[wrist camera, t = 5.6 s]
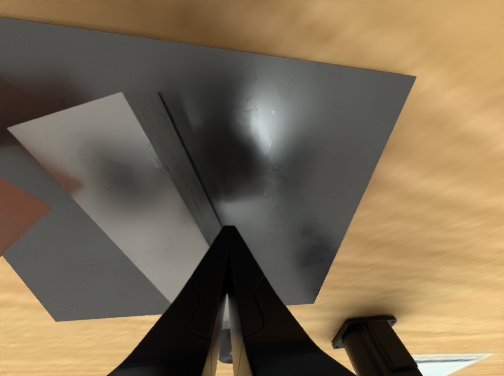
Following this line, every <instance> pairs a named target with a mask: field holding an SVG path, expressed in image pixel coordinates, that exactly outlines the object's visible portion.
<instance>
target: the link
mask: <svg viewBox="0 0 504 376" xmlns="http://www.w3.org/2000/svg"><path fill="white" fill-rule="evenodd" d="M7 129H8V130H9V131H10V132H11V133H12V134H13V135H14V136H15V137H16V138H17V139H18V141H19V142H20V143H21V144H22V145H23V146H24V147H25V148H26V149H27V150H28V151H29V152H30V153H31V154H32V155H33V157H34V158H35V159H36V160H37V161H38V162H39V163H40V164H41V165H42V166H43V167H44V168H45V169H46V170H47V171H48V173H49V174H50V175H51V176H52V177H53V178H54V179H55V180H56V181H57V182H58V183H59V184H60V185H61V186H62V187H63V189H64V190H65V191H66V192H67V193H68V194H69V195H70V196H71V197H72V198H73V199H74V200H75V201H76V202H77V203H78V204H79V206H80V207H81V208H82V209H83V210H84V211H85V212H86V213H87V214H88V215H89V216H90V217H91V218H92V219H93V220H94V222H95V223H96V224H97V225H98V226H99V227H100V228H101V229H102V230H103V231H104V232H105V233H106V234H107V235H108V236H109V238H110V239H111V240H112V241H113V242H114V243H115V244H116V245H117V246H118V247H119V248H120V249H121V250H122V251H123V252H124V254H125V255H126V256H127V257H128V258H129V259H130V260H131V261H132V262H133V263H134V264H135V265H136V266H137V267H138V268H139V269H140V271H141V272H142V273H143V274H144V275H145V276H146V277H147V278H148V279H149V280H150V281H151V282H152V283H153V284H154V285H155V287H156V288H157V289H158V290H159V291H160V292H161V293H162V294H163V295H164V296H165V297H166V298H167V299H168V300H169V301H170V303H172V302H173V301H174V300H175V298H176V297H177V295H178V294H179V293H180V291H181V290H182V288H183V287H184V285H185V284H186V282H187V281H188V279H189V278H190V276H191V275H192V273H193V272H194V270H195V269H196V267H197V266H198V264H199V263H200V261H201V259H202V258H203V256H204V255H205V253H206V252H207V250H208V249H209V247H210V246H211V244H212V243H213V241H214V240H215V238H216V236H217V235H218V233H219V232H220V230H221V229H222V228H221V226H220V224H219V221H218V219H217V217H216V215H215V213H214V211H213V209H212V207H211V205H210V202H209V200H208V198H207V196H206V194H205V192H204V190H203V188H202V186H201V183H200V181H199V179H198V177H197V175H196V173H195V171H194V169H193V167H192V164H191V162H190V160H189V158H188V156H187V154H186V152H185V150H184V148H183V146H182V143H181V141H180V139H179V137H178V135H177V133H176V131H175V129H174V127H173V124H172V122H171V120H170V118H169V116H168V114H167V112H166V110H165V108H164V105H163V103H162V101H161V99H160V97H159V95H158V93H157V92H119V93H116V94H113V95H110V96H107V97H104V98H100V99H97V100H94V101H91V102H88V103H85V104H81V105H78V106H75V107H72V108H69V109H66V110H62V111H59V112H56V113H53V114H50V115H47V116H43V117H40V118H37V119H34V120H31V121H28V122H24V123H21V124H18V125H15V126H12V127H9V128H7ZM228 328H230V321H229V309H228V297H227V298H226V304H225V311H224V318H223V325H222V330H224V329H228ZM218 359H219V353H218ZM218 359H217V360H218Z"/></svg>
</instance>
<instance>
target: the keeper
mask: <svg viewBox="0 0 504 376" xmlns="http://www.w3.org/2000/svg"><path fill="white" fill-rule="evenodd" d="M51 208H52V207H51V206H49V205H48V204H46V203H44V202H42V201H41V200H39V199H37V198H35V197H34V196H32V195H30V194H28V193H27V192H25V191H23V190H21V189H20V188H18V187H16V186H14V185H13V184H11V183H9V182H7V181H6V180H4V179H2V178H0V257H1V256H2V255H3V254H4V253H5V252H6V251H7V250H8V249H9V248H10V247H11V246H12V245H13V244H14V243H15V242H16V241H18V240H19V239H20V238H21V237H22V236H23V235H24V234H25V233H26V232H27V231H28V230H29V229H30V228H31V227H32V226H33V225H34V224H35V223H36V222H37V221H38V220H40V219H41V218H42V217H43V216H44V215H45V214H46V213H47V212H48V211H49V210H50V209H51Z"/></svg>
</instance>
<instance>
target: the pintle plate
mask: <svg viewBox="0 0 504 376" xmlns="http://www.w3.org/2000/svg"><path fill="white" fill-rule="evenodd" d="M415 79H416V76H409V75H402V74H395V73H388V72H381V71H374V70H368V69H361V68H354V67H347V66H340V65H333V64H326V63H319V62H312V61H305V60H298V59H291V58H284V57H277V56H270V55H263V54H256V53H249V52H242V51H235V50H228V49H221V48H214V47H207V46H200V45H193V44H186V43H179V42H172V41H165V40H158V39H151V38H144V37H137V36H130V35H123V34H116V33H109V32H102V31H95V30H88V29H82V28H75V27H68V26H61V25H54V24H47V23H40V22H33V21H26V20H19V19H12V18H5V17H0V178H2V179H4V180H6V181H7V182H9V183H11V184H13V185H14V186H16V187H18V188H20V189H21V190H23V191H25V192H27V193H28V194H30V195H32V196H34V197H35V198H37V199H39V200H41V201H42V202H44V203H46V204H48V205H49V206H51V207H52V208H51V209H50V210H49V211H48V212H47V213H46V214H45V215H44V216H43V217H42V218H41V219H40V220H38V221H37V222H36V223H35V224H34V225H33V226H32V227H31V228H30V229H29V230H28V231H27V232H26V233H25V234H24V235H23V236H22V237H21V238H20V239H19V240H18V241H16V242H15V243H14V244H13V245H12V246H11V247H10V248H9V249H8V250H7V251H6V252H5V253H4V254H3V255H2V256H3V257H4V258H5V259H6V260H7V262H8V263H9V264H10V265H11V267H12V268H13V269H14V270H15V272H16V273H17V274H18V275H19V277H20V278H21V279H22V280H23V282H24V283H25V284H26V285H27V287H28V288H29V289H30V290H31V291H32V293H33V294H34V295H35V296H36V298H37V299H38V300H39V301H40V303H41V304H42V305H43V306H44V308H45V309H46V310H47V311H48V313H49V314H50V315H51V316H52V318H53V319H54V320H55V321H56V322H59V321H73V320H87V319H101V318H115V317H130V316H144V315H158V314H164V312H165V311H166V310H167V309H168V307H169V306H170V305H171V303H170V301H169V300H168V299H167V298H166V297H165V296H164V295H163V294H162V293H161V292H160V291H159V290H158V289H157V288H156V287H155V285H154V284H153V283H152V282H151V281H150V280H149V279H148V278H147V277H146V276H145V275H144V274H143V273H142V272H141V271H140V269H139V268H138V267H137V266H136V265H135V264H134V263H133V262H132V261H131V260H130V259H129V258H128V257H127V256H126V255H125V254H124V252H123V251H122V250H121V249H120V248H119V247H118V246H117V245H116V244H115V243H114V242H113V241H112V240H111V239H110V238H109V236H108V235H107V234H106V233H105V232H104V231H103V230H102V229H101V228H100V227H99V226H98V225H97V224H96V223H95V222H94V220H93V219H92V218H91V217H90V216H89V215H88V214H87V213H86V212H85V211H84V210H83V209H82V208H81V207H80V206H79V204H78V203H77V202H76V201H75V200H74V199H73V198H72V197H71V196H70V195H69V194H68V193H67V192H66V191H65V190H64V189H63V187H62V186H61V185H60V184H59V183H58V182H57V181H56V180H55V179H54V178H53V177H52V176H51V175H50V174H49V173H48V171H47V170H46V169H45V168H44V167H43V166H42V165H41V164H40V163H39V162H38V161H37V160H36V159H35V158H34V157H33V155H32V154H31V153H30V152H29V151H28V150H27V149H26V148H25V147H24V146H23V145H22V144H21V143H20V142H19V141H18V139H17V138H16V137H15V136H14V135H13V134H12V133H11V132H10V131H9V130H8V129H7V128H9V127H12V126H15V125H18V124H21V123H24V122H28V121H31V120H34V119H37V118H40V117H43V116H47V115H50V114H53V113H56V112H59V111H62V110H66V109H69V108H72V107H75V106H78V105H81V104H85V103H88V102H91V101H94V100H97V99H100V98H104V97H107V96H110V95H113V94H116V93H119V92H157V93H158V95H159V97H160V99H161V101H162V103H163V105H164V108H165V110H166V112H167V114H168V116H169V118H170V120H171V122H172V124H173V127H174V129H175V131H176V133H177V135H178V137H179V139H180V141H181V143H182V146H183V148H184V150H185V152H186V154H187V156H188V158H189V160H190V162H191V164H192V167H193V169H194V171H195V173H196V175H197V177H198V179H199V181H200V183H201V186H202V188H203V190H204V192H205V194H206V196H207V198H208V200H209V202H210V205H211V207H212V209H213V211H214V213H215V215H216V217H217V219H218V221H219V224H220V226H221V228H222V227H223V226H224V225H235V226H236V227H237V229H238V231H239V232H240V234H241V236H242V237H243V239H244V241H245V242H246V244H247V246H248V248H249V249H250V251H251V253H252V254H253V256H254V258H255V259H256V261H257V263H258V264H259V266H260V268H261V269H262V271H263V273H264V274H265V276H266V277H267V279H268V281H269V283H270V284H271V286H272V287H273V289H274V290H275V292H276V293H277V295H278V296H279V298H280V299H281V300H282V302H283V303H284V305H285V306H286V305H300V304H314V302H315V300H316V298H317V295H318V293H319V291H320V289H321V287H322V284H323V282H324V280H325V278H326V275H327V273H328V271H329V269H330V267H331V264H332V262H333V260H334V258H335V256H336V253H337V251H338V249H339V247H340V245H341V242H342V240H343V238H344V236H345V234H346V231H347V229H348V227H349V225H350V222H351V220H352V218H353V216H354V214H355V211H356V209H357V207H358V205H359V203H360V200H361V198H362V196H363V194H364V192H365V189H366V187H367V185H368V183H369V181H370V178H371V176H372V174H373V172H374V169H375V167H376V165H377V163H378V161H379V158H380V156H381V154H382V152H383V150H384V147H385V145H386V143H387V141H388V139H389V136H390V134H391V132H392V130H393V128H394V125H395V123H396V121H397V119H398V117H399V114H400V112H401V110H402V108H403V105H404V103H405V101H406V99H407V97H408V94H409V92H410V90H411V88H412V86H413V83H414V81H415ZM219 361H221V362H223V363H228V364H231V363H233V358H232V346H231V334H230V328H228V329H224V330H222V332H221V339H220V346H219Z"/></svg>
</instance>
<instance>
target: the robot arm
mask: <svg viewBox="0 0 504 376" xmlns="http://www.w3.org/2000/svg"><path fill="white" fill-rule="evenodd" d="M227 297H228V309H229V321H230V334H231V346H232V358H233V370H234V376H423V375H422V374H421V372H420V371H419V369H418V365H417V363H416V362H415V360H414V359H413V358H412V356H411V355H410V353H409V352H408V350H407V349H406V347H405V346H404V344H403V343H402V342H401V340H400V339H399V337H398V336H397V334H396V333H395V331H394V330H393V329H392V326H393V325H394V324H395V323H396V322H397V319H396V318H395V317H394V316H387V317H375V318H364V319H352V320H348V321H347V322H346V323H345V325H344V326H343V328H342V329H341V331H340V332H339V334H338V335H337V337H336V338H335V340H334V341H333V343H332V346H333V348H334V349H339V348H345V350H346V352H347V355H348V357H349V359H350V361H351V364H352V366H353V368H354V370H355V372H356V375H355V374H354V373H353V372H351V371H350V370H348V369H347V368H346V367H344V366H343V365H342V364H340V363H339V362H337V361H336V360H335V359H333V358H332V357H330V356H329V355H328V354H326V353H325V352H324V351H323V350H321V349H320V348H319V347H318V346H317V345H316V344H315V343H314V342H313V341H312V339H311V338H310V337H309V336H308V335H307V333H306V332H305V331H304V329H303V328H302V327H301V325H300V324H299V323H298V322H297V320H296V319H295V318H294V316H293V315H292V314H291V312H290V311H289V310H288V308H287V307H286V306H285V305H284V303H283V302H282V300H281V299H280V298H279V296H278V295H277V293H276V292H275V290H274V289H273V287H272V286H271V284H270V283H269V281H268V279H267V277H266V276H265V274H264V273H263V271H262V269H261V268H260V266H259V264H258V263H257V261H256V259H255V258H254V256H253V254H252V253H251V251H250V249H249V248H248V246H247V244H246V242H245V241H244V239H243V237H242V236H241V234H240V232H239V231H238V229H237V227H236V226H235V225H224V226H223V227H222V229H221V230H220V232H219V233H218V235H217V236H216V238H215V240H214V241H213V243H212V244H211V246H210V247H209V249H208V250H207V252H206V253H205V255H204V256H203V258H202V259H201V261H200V263H199V264H198V266H197V267H196V269H195V270H194V272H193V273H192V275H191V276H190V278H189V279H188V281H187V282H186V284H185V285H184V287H183V288H182V290H181V291H180V293H179V294H178V295H177V297H176V298H175V300H174V301H173V302H172V303H171V305H170V306H169V307H168V309H167V310H166V311H165V312H164V314H163V315H162V316H161V317H160V318H159V320H158V321H157V322H156V323H155V325H154V326H153V327H152V328H151V330H150V331H149V332H148V333H147V334H146V336H145V337H144V338H143V339H142V341H141V342H140V343H139V344H138V345H137V347H136V348H135V349H134V350H133V351H132V353H131V354H130V355H129V356H128V357H127V358H126V359H125V360H124V361H123V362H122V363H121V364H120V365H119V366H118V367H117V368H115V369H114V370H113V371H112V372H111V373H109V374H108V375H107V376H215V373H216V366H217V359H218V353H219V346H220V339H221V332H222V325H223V318H224V311H225V304H226V298H227Z"/></svg>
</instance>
